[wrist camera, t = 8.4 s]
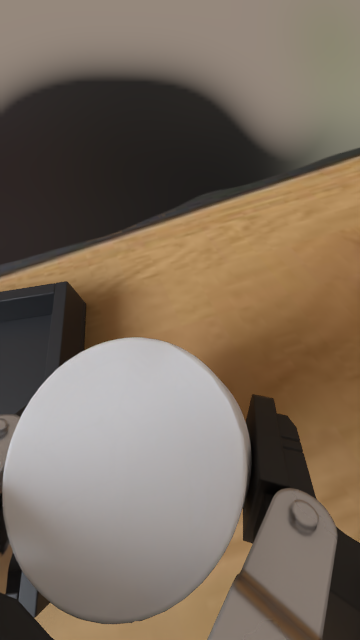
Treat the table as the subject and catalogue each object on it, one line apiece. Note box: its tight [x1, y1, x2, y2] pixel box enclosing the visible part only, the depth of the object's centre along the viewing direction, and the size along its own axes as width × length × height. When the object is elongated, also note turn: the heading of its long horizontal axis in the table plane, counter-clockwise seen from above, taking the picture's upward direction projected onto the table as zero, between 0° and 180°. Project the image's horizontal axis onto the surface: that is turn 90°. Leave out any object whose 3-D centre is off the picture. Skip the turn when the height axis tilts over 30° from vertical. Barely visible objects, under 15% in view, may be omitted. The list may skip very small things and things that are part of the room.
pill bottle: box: [2, 337, 252, 624], centre depth 9 cm, size 6×6×10 cm
